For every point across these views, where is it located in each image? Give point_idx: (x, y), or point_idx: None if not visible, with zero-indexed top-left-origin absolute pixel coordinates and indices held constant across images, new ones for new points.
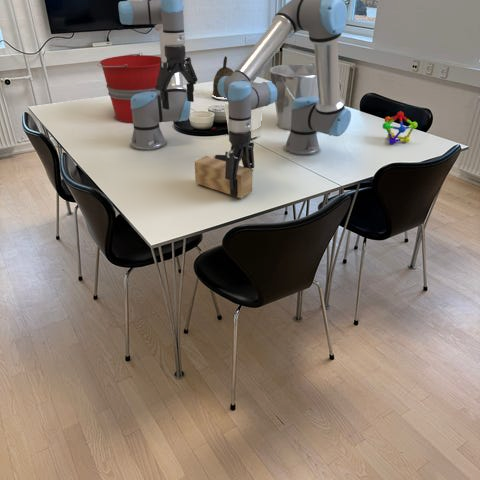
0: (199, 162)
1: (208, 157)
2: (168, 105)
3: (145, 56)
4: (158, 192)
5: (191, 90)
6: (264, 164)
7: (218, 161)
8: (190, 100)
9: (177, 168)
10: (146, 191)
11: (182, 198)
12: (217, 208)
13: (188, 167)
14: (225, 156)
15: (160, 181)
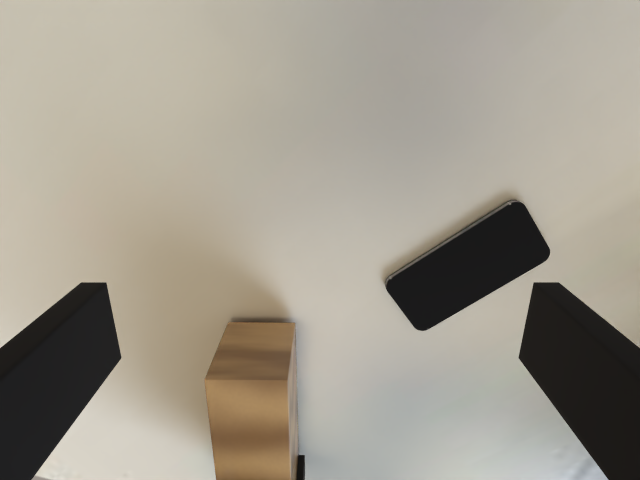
0: (210, 401)
1: (278, 397)
2: (90, 387)
3: None
4: (93, 255)
5: (611, 470)
6: (535, 387)
7: (272, 448)
8: (531, 337)
9: (303, 149)
10: (62, 214)
11: (128, 345)
12: (163, 451)
13: (342, 181)
14: (523, 246)
15: (159, 190)
